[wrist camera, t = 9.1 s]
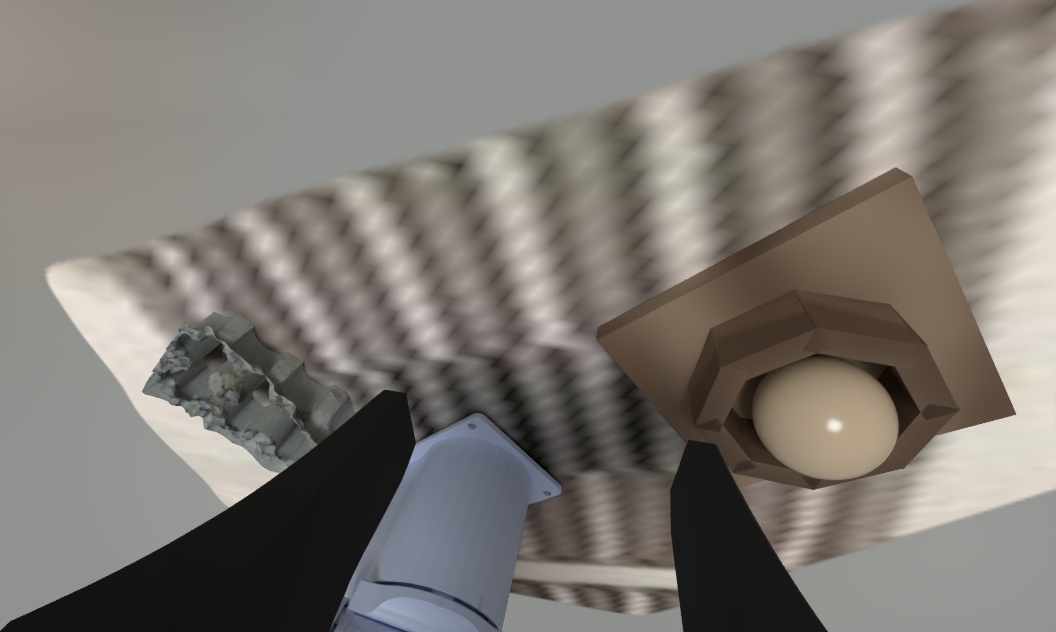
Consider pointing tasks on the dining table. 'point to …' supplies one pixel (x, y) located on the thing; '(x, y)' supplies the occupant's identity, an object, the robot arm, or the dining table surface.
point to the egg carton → (248, 391)
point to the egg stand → (817, 330)
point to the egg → (825, 418)
